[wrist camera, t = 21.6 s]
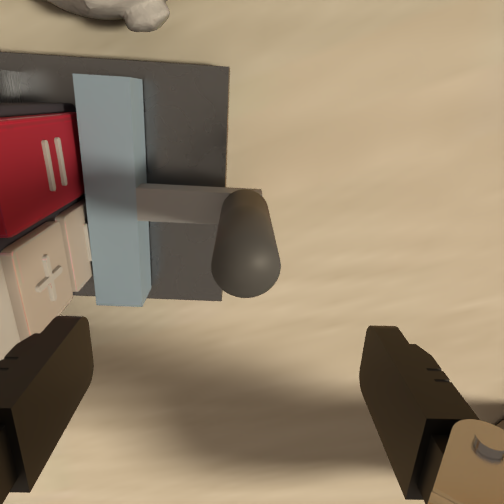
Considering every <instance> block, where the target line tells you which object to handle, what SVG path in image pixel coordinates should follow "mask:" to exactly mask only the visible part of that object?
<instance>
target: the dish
mask: <svg viewBox="0 0 504 504" xmlns="http://www.w3.org/2000/svg"><path fill="white" fill-rule="evenodd" d="M46 1H48V2H50V3H52V4H54V5H55V6H57V7H59V8H61V9H63V10H65V11H68V12H71V13H74V14H77V15H80V16H83V17H88V18H93V19H101V20H120V19H125V22H126V25H127V27H128V29H129V30H131V31H134V32H150V31H154V30H157V29H158V28H160V27H161V26H162V25H163V24H164V22H165V21H166V20H167V19H168V17H169V14H170V11H169V8H168V6H167V5H166V3H165V2H166V1H167V0H46Z"/></svg>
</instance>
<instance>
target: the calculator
mask: <svg viewBox="0 0 504 504" xmlns="http://www.w3.org/2000/svg"><path fill="white" fill-rule="evenodd" d="M92 275H93V266H92V256H91V247H90V237H89V228H88V218H87V209H86V199H85V189H84V180H83V170H82V161H81V151H80V142H79V132H78V122H77V113H76V108H75V106H74V105H73V104H72V103H47V102H12V103H0V361H1V360H2V359H4V356H5V355H6V354H7V353H8V352H9V351H10V350H11V349H12V348H13V347H14V346H15V345H16V344H17V343H19V342H21V341H22V340H24V339H26V338H27V337H29V336H31V335H32V334H34V333H41V332H42V331H43V330H44V329H45V328H46V326H47V325H48V324H49V323H50V322H51V321H52V320H53V319H54V318H55V317H56V316H58V315H59V314H60V313H61V312H62V311H63V309H64V308H65V307H66V306H67V305H68V303H69V302H70V301H71V300H72V298H73V295H74V293H75V292H78V291H79V290H80V289H81V288H82V287H83V286H84V285H85V283H86V282H87V281H88V280H89V279H90V278H91V276H92Z"/></svg>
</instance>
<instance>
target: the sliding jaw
mask: <svg viewBox="0 0 504 504" xmlns="http://www.w3.org/2000/svg"><path fill="white" fill-rule="evenodd" d="M72 74H73V73H72ZM73 84H74V94H75V103H76V113H77V122H78V132H79V142H80V151H81V161H82V170H83V180H84V189H85V199H86V209H87V218H88V228H89V237H90V247H91V256H92V266H93V276H94V285H95V295H96V304H97V305H106V306H132V307H142V306H143V304H144V302H145V300H146V298H147V296H148V294H149V292H150V290H151V266H150V243H149V221H153V222H174V223H195V224H216V225H218V230H217V235H216V240H215V245H214V250H213V256H212V261H211V271H212V275H213V278H214V280H215V282H216V283H217V285H218V286H219V287H220V288H221V289H222V290H224V291H225V292H227V293H228V294H230V295H233V296H236V297H241V298H250V297H255V296H259V295H261V294H263V293H265V292H266V291H268V290H269V289H270V288H271V287H272V286H273V285H274V284H275V282H276V281H277V279H278V277H279V274H280V269H281V264H280V258H279V253H278V249H277V245H276V240H275V236H274V232H273V227H272V223H271V219H270V214H269V210H268V206H267V203H266V201H265V199H264V198H263V197H262V191H261V189H246V188H226V187H207V186H188V185H168V184H149V183H147V174H146V152H145V129H144V106H143V83H142V79H137V78H132V77H121V76H105V75H89V74H73Z"/></svg>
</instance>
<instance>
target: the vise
mask: <svg viewBox="0 0 504 504" xmlns="http://www.w3.org/2000/svg"><path fill="white" fill-rule="evenodd" d="M72 73H73V74H89V75H105V76H121V77H132V78H137V79H142V83H143V106H144V129H145V152H146V174H147V183H149V184H168V185H188V186H207V187H226V171H227V140H228V109H229V78H230V68H229V67H223V66H208V65H192V64H177V63H161V62H146V61H131V60H115V59H100V58H84V57H69V56H54V55H38V54H23V53H7V52H0V103H12V102H47V103H72V104H73V105H74V106H75V108H76V103H75V94H74V84H73V74H72ZM217 230H218V225H216V224H195V223H174V222H153V221H149V243H150V266H151V290H150V292H149V294H148V296H147V298H154V299H180V300H205V301H222V292H223V290H222V289H221V288H220V287H219V286H218V285H217V283H216V282H215V280H214V278H213V275H212V271H211V261H212V256H213V250H214V245H215V240H216V235H217ZM74 295H78V296H96V295H95V285H94V276H93V275H92V276H91V278H90V279H89V280H88V281H87V282H86V283H85V285H84V286H83V287H82V288H81V289H80V290H79V291H78V292H75V293H74Z"/></svg>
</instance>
